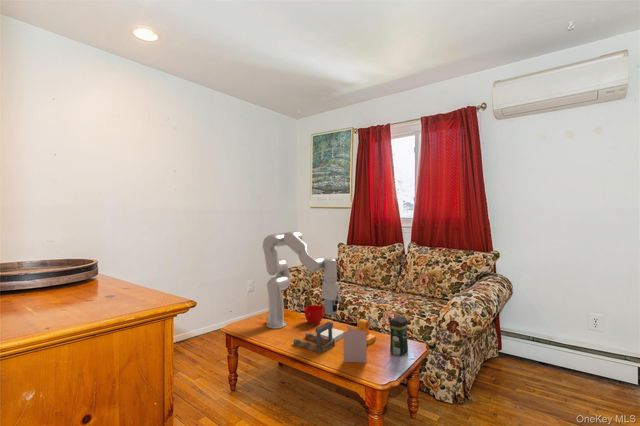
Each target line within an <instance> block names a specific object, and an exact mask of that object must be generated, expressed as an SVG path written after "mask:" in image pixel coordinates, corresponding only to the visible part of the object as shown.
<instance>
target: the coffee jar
mask: <svg viewBox="0 0 640 426" xmlns="http://www.w3.org/2000/svg"><path fill="white" fill-rule="evenodd" d="M389 328H390V329H389V330H390V342H389V343H390V344H389V345H390V346H389V347H390V348H389V349H390V350H389V352H390V353H391V354H392V355H393V356H396V357H397V356H399V357H403V356H404V355H406V354H408V351H409V346H408V319H407V318H406V317H405V316H404V315H403V316H402V315H397V316H394V317H392V318H391V319H389Z"/></svg>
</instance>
